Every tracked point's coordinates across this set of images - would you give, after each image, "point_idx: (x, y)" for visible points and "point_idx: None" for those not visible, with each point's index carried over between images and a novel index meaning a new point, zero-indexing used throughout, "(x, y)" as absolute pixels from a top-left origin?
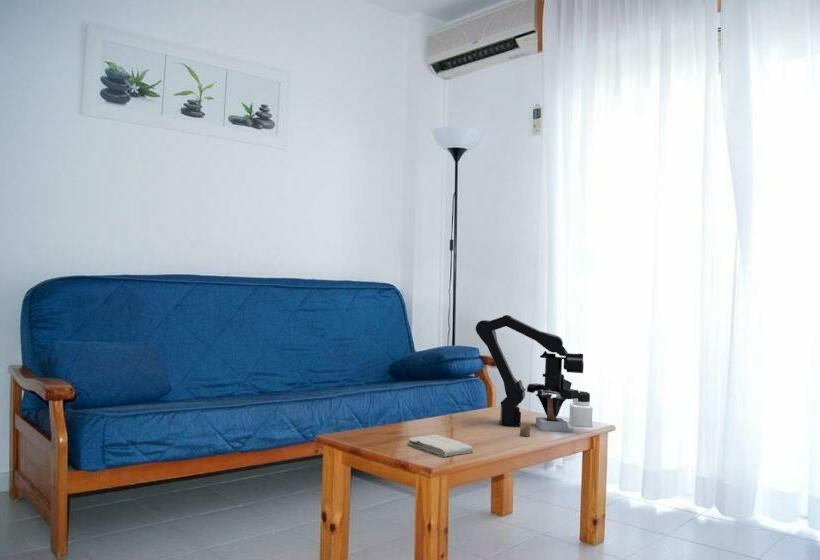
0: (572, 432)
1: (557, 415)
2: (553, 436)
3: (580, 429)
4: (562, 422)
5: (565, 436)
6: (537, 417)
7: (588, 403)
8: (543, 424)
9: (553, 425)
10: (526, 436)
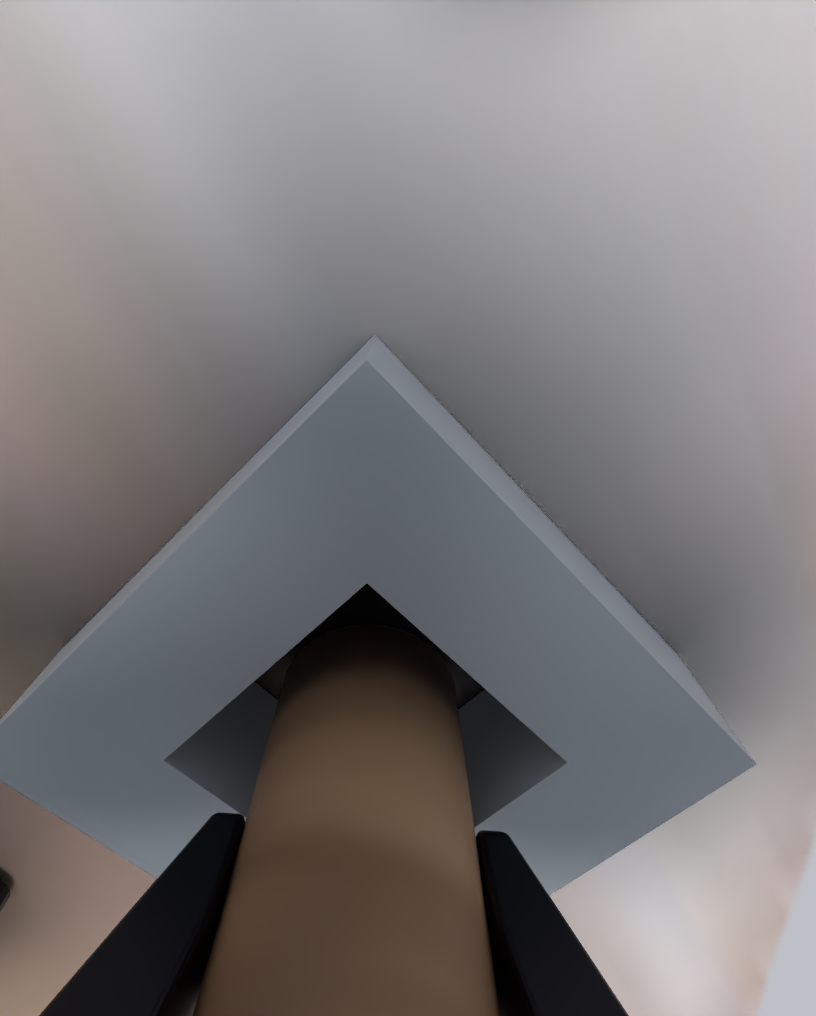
0: (759, 628)
1: (518, 850)
2: (643, 985)
3: (805, 254)
4: (650, 794)
5: (762, 897)
6: (15, 772)
7: None
8: None
9: None
10: None
